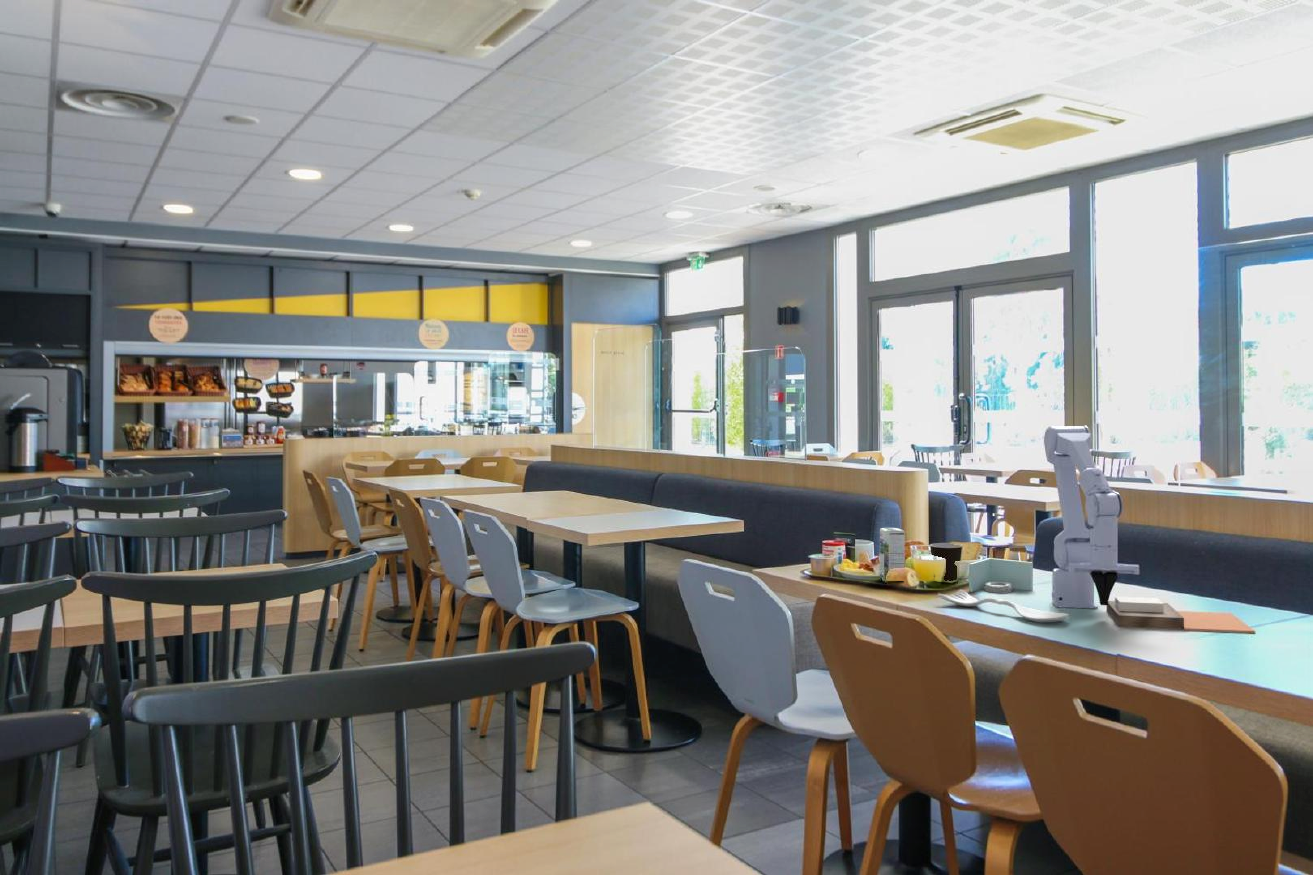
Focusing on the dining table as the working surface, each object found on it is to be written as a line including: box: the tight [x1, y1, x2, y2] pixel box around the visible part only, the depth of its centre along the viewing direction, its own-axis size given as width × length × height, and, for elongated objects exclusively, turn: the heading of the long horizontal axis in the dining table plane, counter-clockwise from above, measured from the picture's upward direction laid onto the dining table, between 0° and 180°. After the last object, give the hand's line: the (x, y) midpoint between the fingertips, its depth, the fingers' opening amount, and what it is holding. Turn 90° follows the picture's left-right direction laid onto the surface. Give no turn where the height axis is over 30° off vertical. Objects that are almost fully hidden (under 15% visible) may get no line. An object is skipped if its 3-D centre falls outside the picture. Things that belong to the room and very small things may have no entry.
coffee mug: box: [929, 542, 963, 581], centre depth 276 cm, size 12×9×10 cm
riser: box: [1106, 600, 1184, 630], centre depth 225 cm, size 13×16×2 cm
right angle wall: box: [968, 557, 1034, 594], centre depth 261 cm, size 12×12×8 cm
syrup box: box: [878, 527, 906, 583], centre depth 277 cm, size 6×6×14 cm
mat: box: [1176, 610, 1256, 634], centre depth 221 cm, size 14×18×1 cm
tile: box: [1114, 596, 1165, 613], centre depth 225 cm, size 9×6×2 cm, turn 74°
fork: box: [937, 589, 1070, 624], centre depth 234 cm, size 9×32×4 cm, turn 35°
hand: (1103, 604), depth 227 cm, fingers closed
